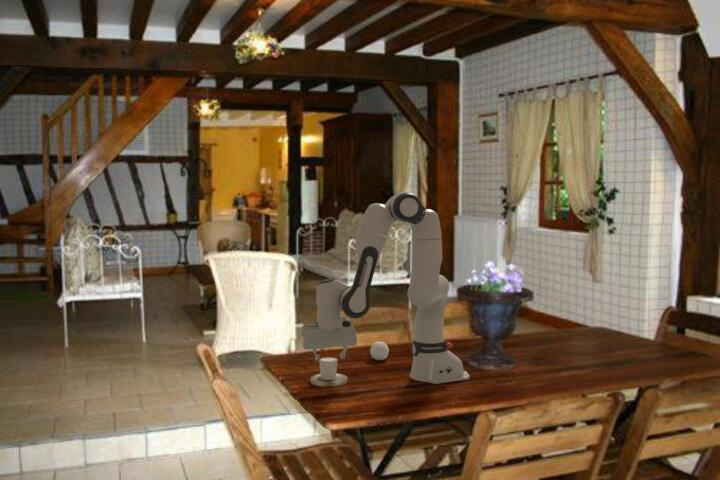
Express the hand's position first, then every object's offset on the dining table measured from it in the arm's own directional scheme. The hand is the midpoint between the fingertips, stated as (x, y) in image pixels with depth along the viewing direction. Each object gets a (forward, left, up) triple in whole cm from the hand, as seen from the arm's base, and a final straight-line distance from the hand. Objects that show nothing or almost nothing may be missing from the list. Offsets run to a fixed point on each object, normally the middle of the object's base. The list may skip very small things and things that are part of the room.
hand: (330, 359), depth 267 cm
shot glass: (+1, -1, -8) cm, 8 cm away
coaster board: (+1, -1, -9) cm, 9 cm away
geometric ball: (-25, -27, -9) cm, 38 cm away
